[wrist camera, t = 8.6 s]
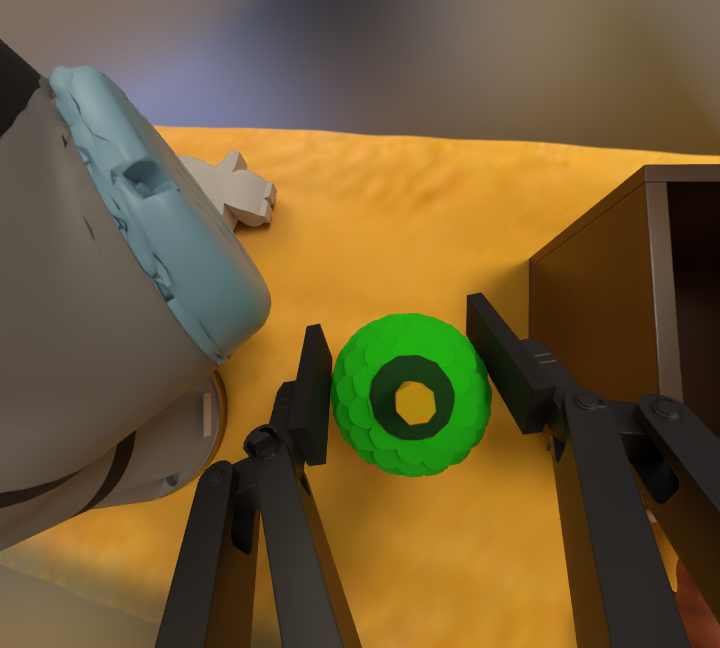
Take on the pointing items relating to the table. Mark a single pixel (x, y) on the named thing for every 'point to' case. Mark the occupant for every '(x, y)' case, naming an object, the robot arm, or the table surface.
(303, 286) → the table surface
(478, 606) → the table surface
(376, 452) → the ornament
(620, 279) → the chest
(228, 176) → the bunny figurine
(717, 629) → the bull figurine
